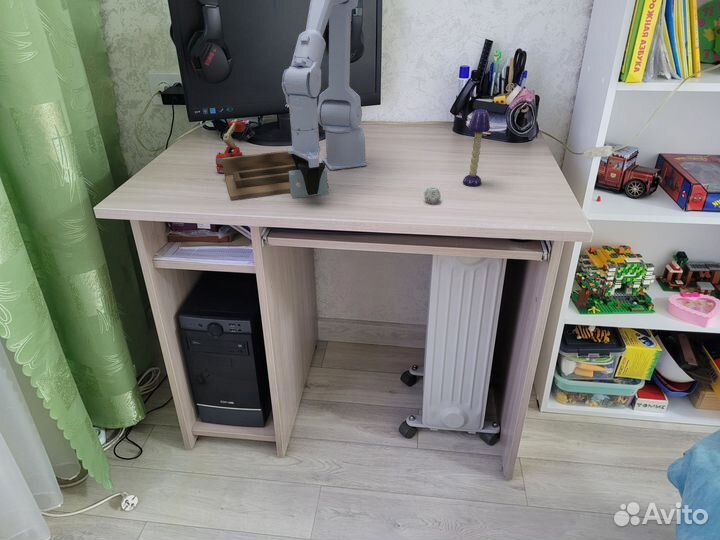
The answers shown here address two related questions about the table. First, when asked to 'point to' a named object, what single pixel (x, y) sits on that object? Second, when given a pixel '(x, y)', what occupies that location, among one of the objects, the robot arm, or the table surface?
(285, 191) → the track base
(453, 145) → the table surface
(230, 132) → the toy fire truck
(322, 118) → the robot arm
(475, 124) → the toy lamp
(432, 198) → the game die
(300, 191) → the grey-blue rectangular block
